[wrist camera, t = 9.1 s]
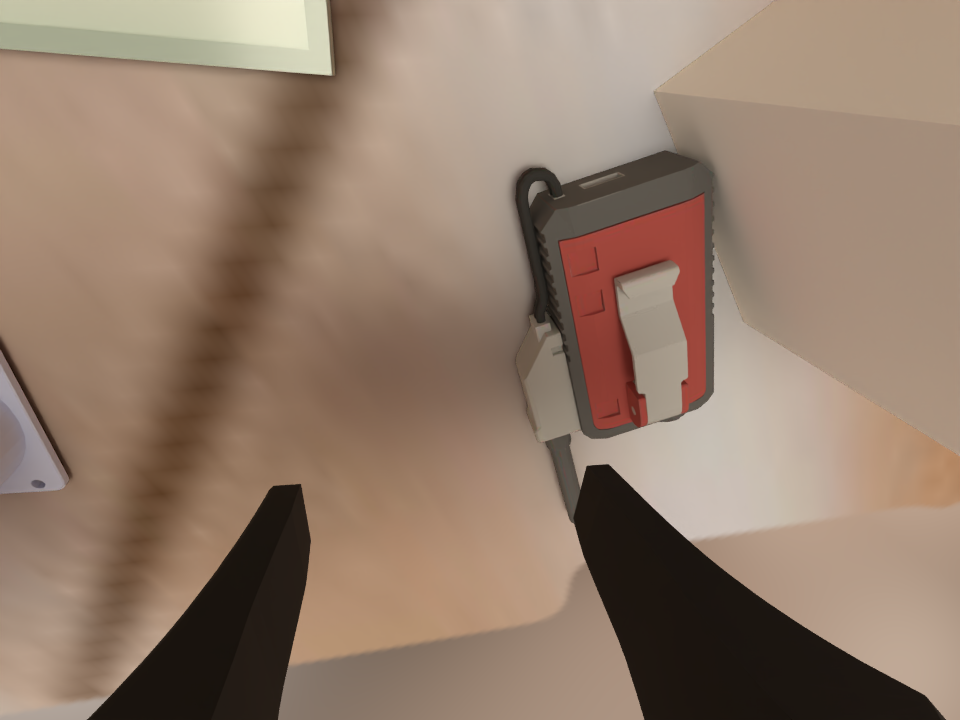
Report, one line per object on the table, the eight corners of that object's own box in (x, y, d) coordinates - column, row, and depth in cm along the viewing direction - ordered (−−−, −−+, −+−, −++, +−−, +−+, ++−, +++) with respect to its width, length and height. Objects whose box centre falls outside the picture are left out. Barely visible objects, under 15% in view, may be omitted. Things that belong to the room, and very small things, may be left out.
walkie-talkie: (458, 184, 18) (554, 508, 29) (475, 215, 14) (578, 573, 25) (679, 109, 18) (691, 464, 29) (754, 121, 14) (735, 523, 25)
